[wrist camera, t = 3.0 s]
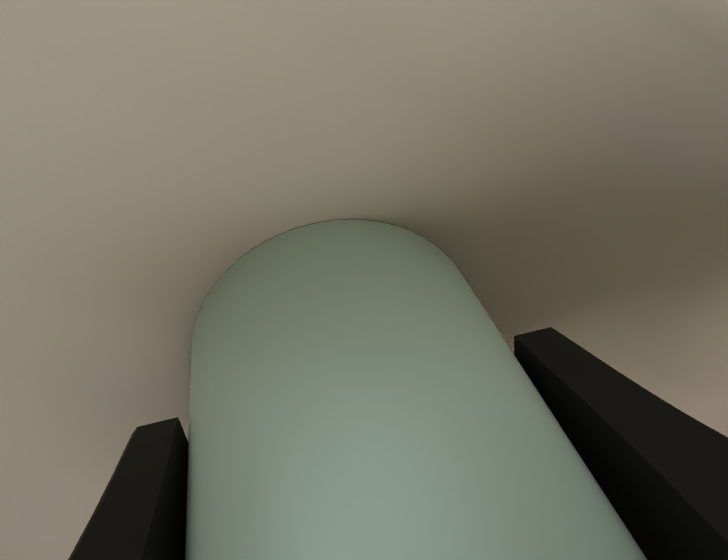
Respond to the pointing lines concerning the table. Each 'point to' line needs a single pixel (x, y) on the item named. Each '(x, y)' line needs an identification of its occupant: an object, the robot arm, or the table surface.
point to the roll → (374, 416)
